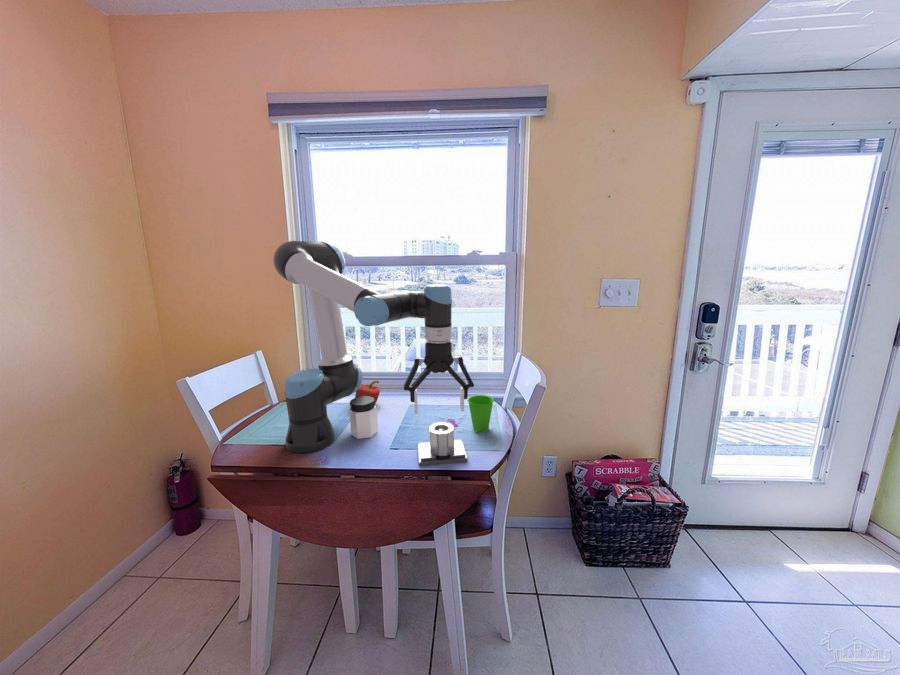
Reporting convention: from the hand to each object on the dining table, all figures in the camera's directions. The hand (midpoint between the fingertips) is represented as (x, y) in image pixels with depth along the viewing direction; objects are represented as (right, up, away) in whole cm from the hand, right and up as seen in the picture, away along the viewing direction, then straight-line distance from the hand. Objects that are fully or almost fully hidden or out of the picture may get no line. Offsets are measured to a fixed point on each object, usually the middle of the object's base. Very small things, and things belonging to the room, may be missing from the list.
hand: (439, 410), depth 102 cm
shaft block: (+1, -14, +3) cm, 14 cm away
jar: (-26, -12, +17) cm, 34 cm away
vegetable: (-30, -7, +41) cm, 51 cm away
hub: (+1, -12, +2) cm, 12 cm away
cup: (+14, -10, +18) cm, 25 cm away
